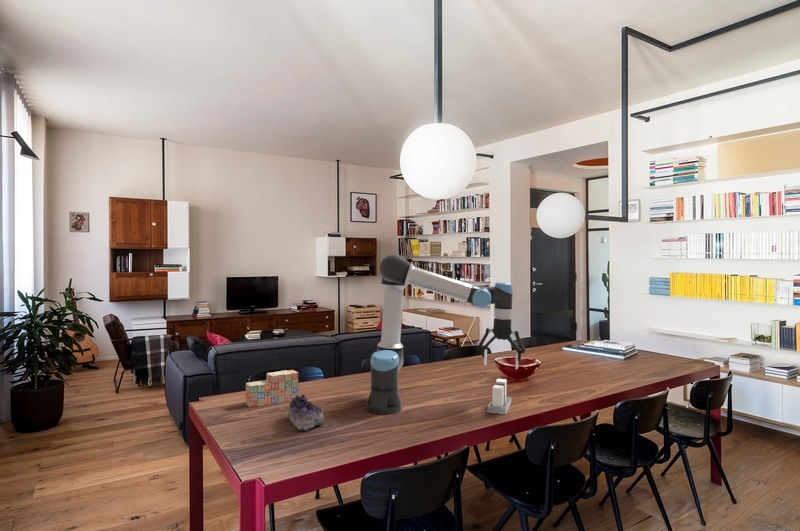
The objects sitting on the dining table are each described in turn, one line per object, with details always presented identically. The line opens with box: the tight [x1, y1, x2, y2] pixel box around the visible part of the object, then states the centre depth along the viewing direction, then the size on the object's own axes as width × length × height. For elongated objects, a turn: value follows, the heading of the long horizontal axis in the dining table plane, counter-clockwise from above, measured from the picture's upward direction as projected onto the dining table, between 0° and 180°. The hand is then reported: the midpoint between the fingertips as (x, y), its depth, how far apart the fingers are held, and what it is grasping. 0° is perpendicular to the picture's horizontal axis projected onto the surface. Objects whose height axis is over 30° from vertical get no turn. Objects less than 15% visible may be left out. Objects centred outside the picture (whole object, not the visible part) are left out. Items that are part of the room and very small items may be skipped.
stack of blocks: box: [245, 369, 299, 408], centre depth 205 cm, size 21×6×12 cm, turn 125°
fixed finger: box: [491, 384, 504, 408], centre depth 198 cm, size 4×5×10 cm
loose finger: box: [495, 378, 507, 403], centre depth 205 cm, size 4×5×10 cm
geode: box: [287, 393, 325, 432], centre depth 181 cm, size 20×12×10 cm, turn 34°
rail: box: [486, 396, 512, 415], centre depth 202 cm, size 18×8×2 cm, turn 159°
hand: (500, 366), depth 205 cm, fingers open, 13 cm apart
